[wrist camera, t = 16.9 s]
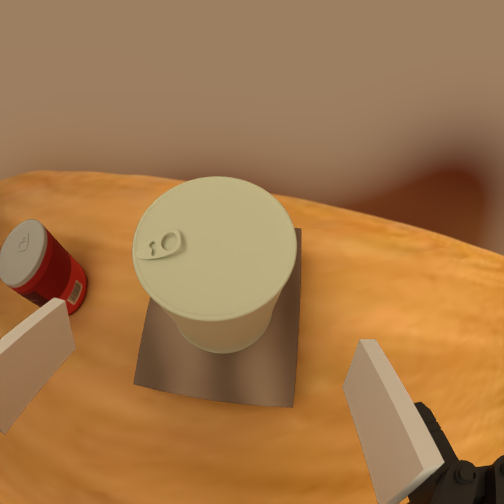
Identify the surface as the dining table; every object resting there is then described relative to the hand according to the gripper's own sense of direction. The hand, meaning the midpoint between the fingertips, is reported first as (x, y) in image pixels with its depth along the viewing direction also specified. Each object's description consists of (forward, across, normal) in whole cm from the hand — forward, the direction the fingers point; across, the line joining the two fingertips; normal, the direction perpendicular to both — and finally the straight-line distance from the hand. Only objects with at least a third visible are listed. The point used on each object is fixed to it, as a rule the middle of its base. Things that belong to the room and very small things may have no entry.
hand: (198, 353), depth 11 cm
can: (+14, 0, -5) cm, 14 cm away
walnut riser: (+18, 0, -9) cm, 20 cm away
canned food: (+18, -22, -9) cm, 30 cm away
